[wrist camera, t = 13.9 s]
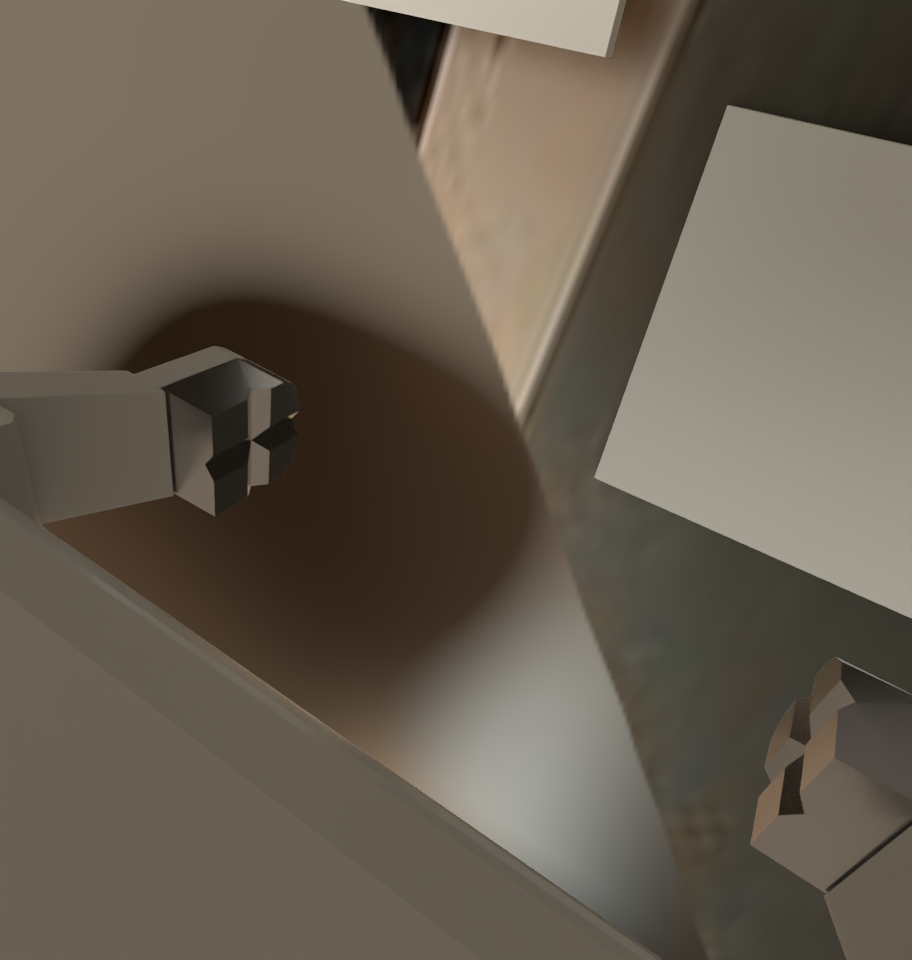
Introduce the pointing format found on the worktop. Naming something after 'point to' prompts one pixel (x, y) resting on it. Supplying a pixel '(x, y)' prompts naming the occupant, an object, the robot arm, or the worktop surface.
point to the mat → (785, 357)
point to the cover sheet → (526, 19)
